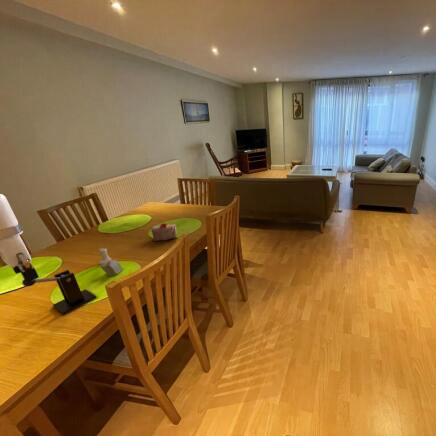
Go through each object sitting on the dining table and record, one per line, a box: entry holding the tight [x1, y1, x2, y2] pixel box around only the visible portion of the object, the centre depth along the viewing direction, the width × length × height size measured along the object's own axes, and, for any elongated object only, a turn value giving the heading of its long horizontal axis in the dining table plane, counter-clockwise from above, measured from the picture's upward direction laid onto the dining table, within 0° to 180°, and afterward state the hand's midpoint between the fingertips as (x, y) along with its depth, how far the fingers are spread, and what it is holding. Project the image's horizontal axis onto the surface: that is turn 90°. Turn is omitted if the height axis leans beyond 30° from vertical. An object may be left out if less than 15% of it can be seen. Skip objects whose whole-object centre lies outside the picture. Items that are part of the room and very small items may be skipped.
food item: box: [151, 222, 178, 242], centre depth 150 cm, size 14×8×10 cm, turn 108°
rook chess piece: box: [98, 247, 112, 261], centre depth 124 cm, size 4×4×8 cm
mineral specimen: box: [98, 259, 123, 277], centre depth 115 cm, size 7×9×8 cm
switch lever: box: [21, 274, 68, 287], centre depth 89 cm, size 13×3×3 cm, turn 152°
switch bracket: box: [52, 269, 97, 316], centre depth 95 cm, size 11×9×14 cm
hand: (27, 275), depth 84 cm, fingers open, 9 cm apart
